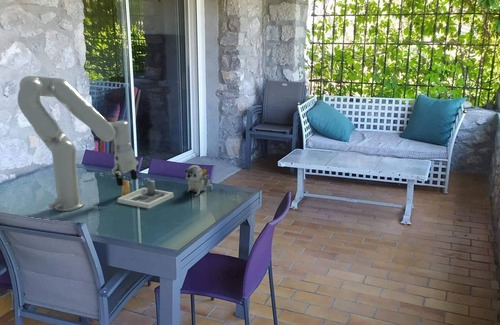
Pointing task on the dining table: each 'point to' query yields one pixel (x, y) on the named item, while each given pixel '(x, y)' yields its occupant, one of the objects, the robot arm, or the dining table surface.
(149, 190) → the jaw grey
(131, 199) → the tray
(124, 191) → the jaw orange
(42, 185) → the dining table surface
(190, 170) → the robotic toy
